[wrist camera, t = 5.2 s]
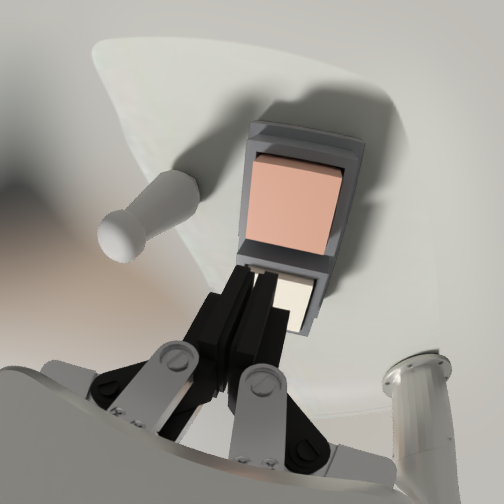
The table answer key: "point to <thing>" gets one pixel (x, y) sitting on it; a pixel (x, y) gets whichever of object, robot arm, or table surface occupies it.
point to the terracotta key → (292, 202)
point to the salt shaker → (149, 215)
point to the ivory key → (290, 294)
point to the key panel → (349, 160)
